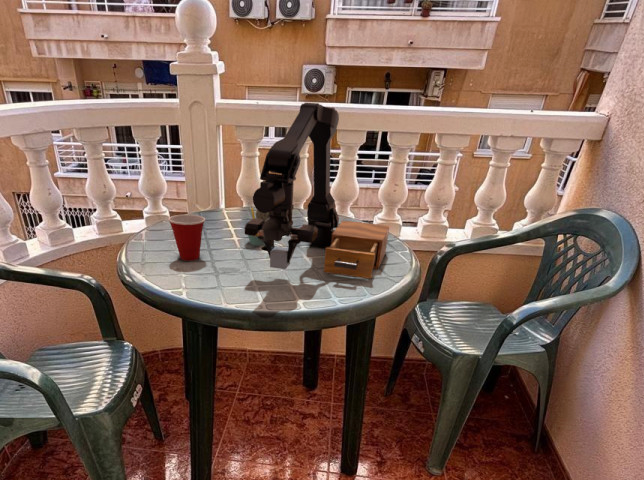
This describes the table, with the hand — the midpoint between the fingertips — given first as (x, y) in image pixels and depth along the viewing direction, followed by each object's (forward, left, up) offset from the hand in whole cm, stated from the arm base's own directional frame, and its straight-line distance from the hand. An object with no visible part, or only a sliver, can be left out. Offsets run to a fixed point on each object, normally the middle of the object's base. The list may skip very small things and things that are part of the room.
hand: (280, 261), depth 133 cm
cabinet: (+18, +24, -5) cm, 30 cm away
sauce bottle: (-20, +43, -2) cm, 48 cm away
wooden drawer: (+18, +11, -4) cm, 21 cm away
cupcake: (-16, +25, -5) cm, 30 cm away
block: (0, 0, -1) cm, 1 cm away
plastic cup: (-31, +6, -5) cm, 32 cm away
